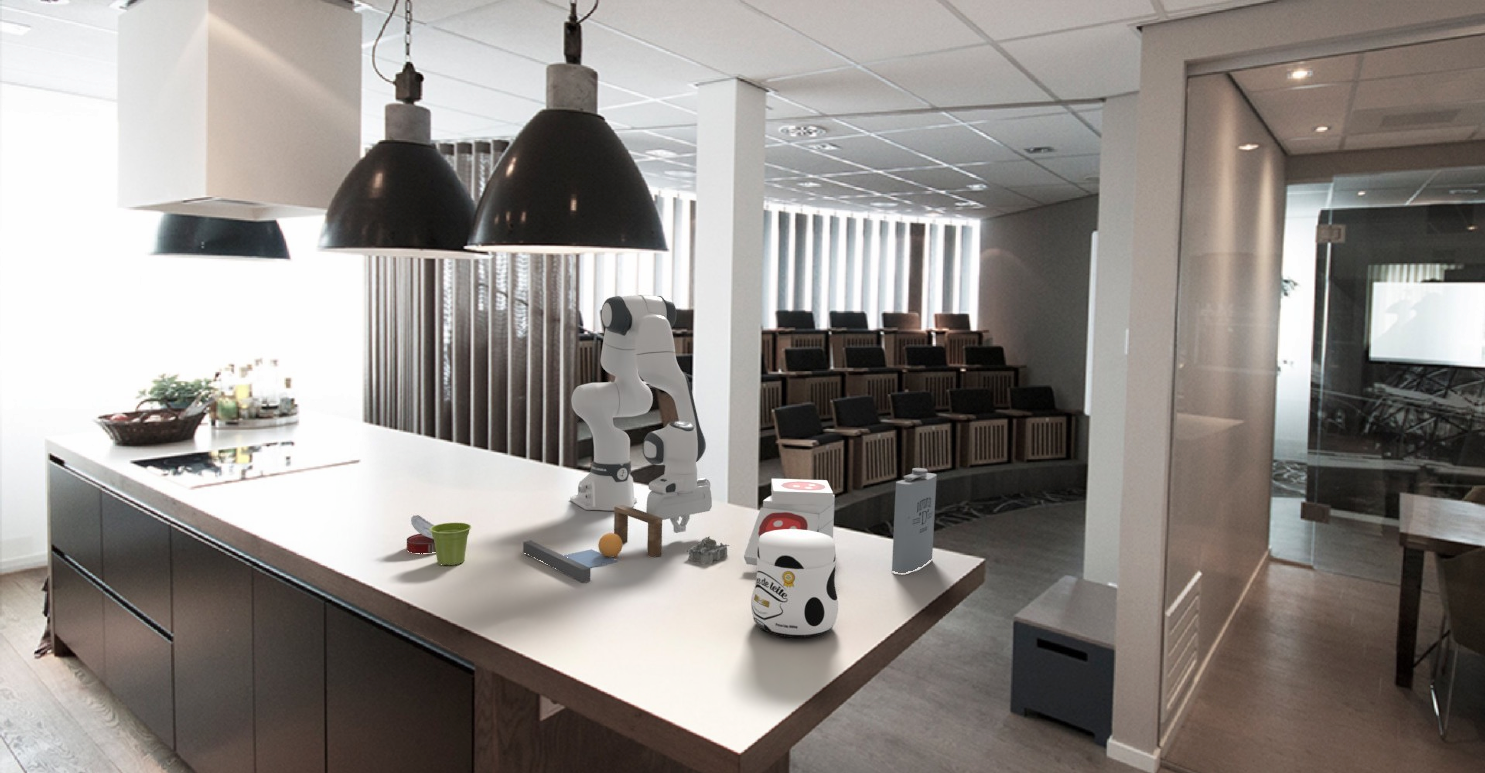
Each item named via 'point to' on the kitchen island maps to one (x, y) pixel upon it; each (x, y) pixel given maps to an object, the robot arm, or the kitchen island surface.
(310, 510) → the kitchen island surface
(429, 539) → the canned food
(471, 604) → the kitchen island surface
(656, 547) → the bridge
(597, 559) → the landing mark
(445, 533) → the plant pot
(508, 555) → the kitchen island surface
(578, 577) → the stopper wall
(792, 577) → the milk container
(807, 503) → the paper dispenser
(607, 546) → the ball
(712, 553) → the egg carton
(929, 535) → the flask
